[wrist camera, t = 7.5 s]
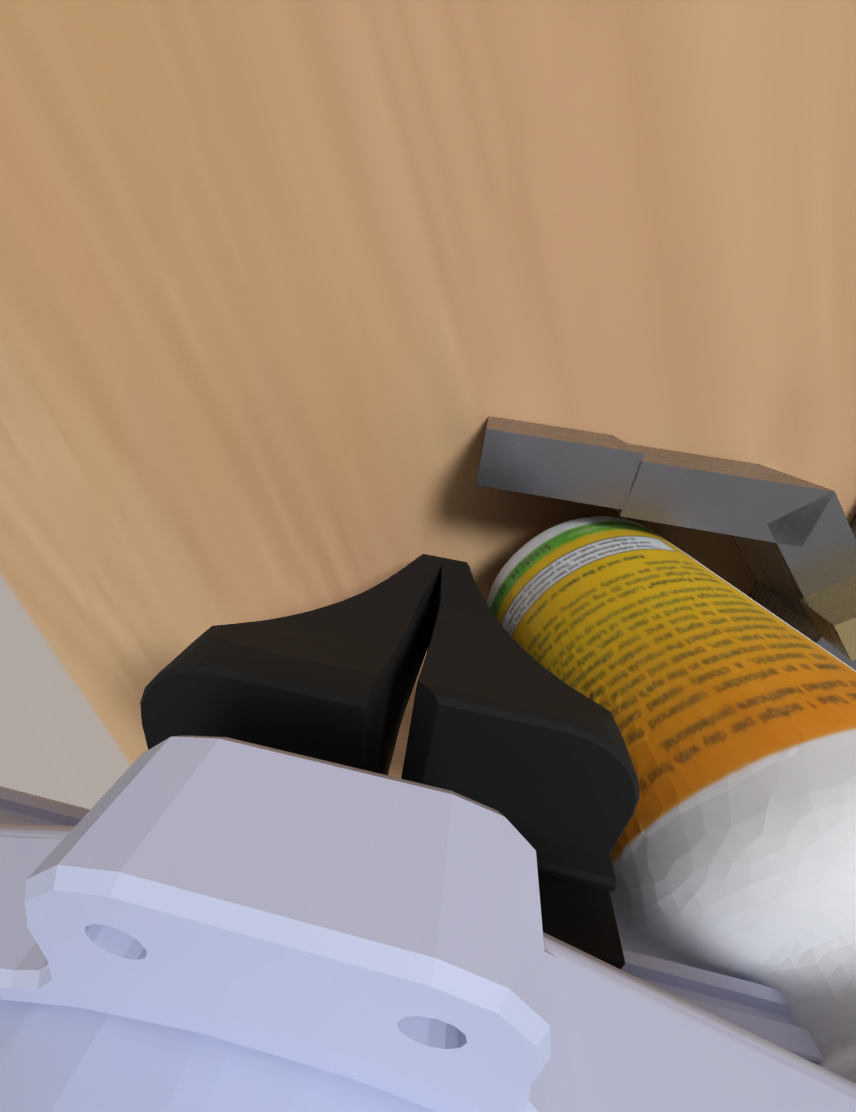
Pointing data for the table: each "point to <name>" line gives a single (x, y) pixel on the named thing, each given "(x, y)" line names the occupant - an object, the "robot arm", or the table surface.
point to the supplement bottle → (710, 762)
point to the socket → (701, 513)
